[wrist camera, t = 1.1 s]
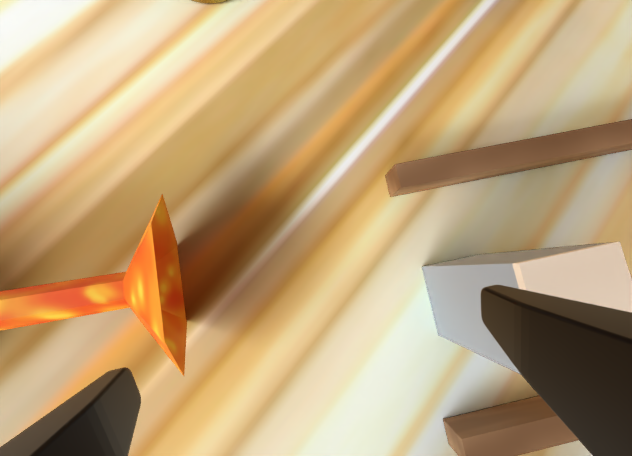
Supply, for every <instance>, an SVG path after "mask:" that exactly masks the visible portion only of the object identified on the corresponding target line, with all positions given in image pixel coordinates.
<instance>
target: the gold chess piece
mask: <svg viewBox="0 0 632 456" xmlns="http://www.w3.org/2000/svg"><path fill="white" fill-rule="evenodd" d="M192 1H196V2H200V3H218V2H223V1H226V0H192Z"/></svg>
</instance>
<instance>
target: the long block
mask: <svg viewBox="0 0 632 456" xmlns="http://www.w3.org/2000/svg"><path fill="white" fill-rule="evenodd" d="M422 270H423V274H424V278H425V282H426V286H427V290H428V294H429V298H430V303H431V307H432V311H433V315H434V319H435V323H436V327H437V331H438V335H439V336H441V337H444V338H446V339H448V340H450V341H452V342H454V343H456V344H458V345H460V346H462V347H465V348H467V349H469V350H471V351H473V352H475V353H477V354H479V355H481V356H483V357H485V358H488V359H490V360H492V361H494V362H496V363H498V364H500V365H502V366H504V367H506V368H509V369H511V370H513V371H515V372H517V373H519V374H520V372H519V371H518V370H517V369H516V367H515V366H514V365H513V363H512V362H511V361H510V359H509V358H508V356H507V355H506V354H505V352H504V351H503V350H502V348H501V347H500V345H499V344H498V343H497V341H496V340H495V339H494V337H493V336H492V335H491V333H490V332H489V330H488V329H487V328H486V326H485V325H484V323H483V321H482V317H481V295H480V294H481V290H482V289H483V288H484V287H487V286H492V285H503V286H508V287H513V288H518V289H522V290H527V291H532V292H537V293H541V294H546V295H551V296H556V297H560V298H565V299H570V300H575V301H579V302H584V303H589V304H594V305H598V306H603V307H608V308H613V309H617V310H622V311H627V312H632V278H631V275H630V272H629V269H628V266H627V262H626V259H625V256H624V253H623V250H622V247H621V244H620V242H610V243H599V244H588V245H577V246H566V247H555V248H545V249H534V250H523V251H512V252H501V253H490V254H479V255H474V256H469V257H465V258H460V259H455V260H451V261H446V262H441V263H436V264H432V265H427V266H422Z"/></svg>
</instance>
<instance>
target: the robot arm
mask: <svg viewBox="0 0 632 456" xmlns="http://www.w3.org/2000/svg"><path fill="white" fill-rule="evenodd" d="M480 295H481V317H482V321H483V323H484V325H485V326H486V328H487V329H488V330H489V332H490V333H491V335H492V336H493V337H494V339H495V340H496V341H497V343H498V344H499V345H500V347H501V348H502V350H503V351H504V352H505V354H506V355H507V356H508V358H509V359H510V361H511V362H512V363H513V365H514V366H515V367H516V369H517V370H518V371H519V372H520V374H521V375H522V376H523V377H524V378H525V380H526V381H527V382H528V383H529V384H530V385H531V387H532V388H533V389H534V390H535V391H536V392H537V393H538V394H539V396H540V397H541V398H542V399H543V400H544V401H545V402H546V403H547V405H548V406H549V407H550V408H551V409H552V410H553V411H554V412H555V414H556V415H557V416H558V417H559V418H560V419H561V420H562V421H563V423H564V424H565V425H566V426H567V427H568V428H569V429H570V430H571V432H572V433H573V434H574V435H575V436H576V437H577V438H578V439H579V441H580V442H581V443H582V444H583V445H584V446H585V447H586V448H587V450H588V451H589V452H590V453H591V454H592V455H593V456H632V312H627V311H622V310H617V309H613V308H608V307H603V306H598V305H594V304H589V303H584V302H579V301H575V300H570V299H565V298H560V297H556V296H551V295H546V294H541V293H537V292H532V291H527V290H522V289H518V288H513V287H508V286H503V285H492V286H487V287H484V288H483V289H482V290H481V294H480ZM140 405H141V397H140V393H139V390H138V388H137V385H136V383H135V380H134V377H133V375H132V372H131V371H130V369H128V368H120V369H115V370H111V371H108V372H107V373H105V374H104V375H102V376H101V377H100V378H98V379H97V380H95V381H94V382H93V383H91V384H90V385H88V386H87V387H85V388H84V389H83V390H81V391H80V392H78V393H77V394H75V395H74V396H73V397H71V398H70V399H68V400H67V401H65V402H64V403H63V404H61V405H60V406H58V407H57V408H56V409H54V410H53V411H51V412H50V413H48V414H47V415H46V416H44V417H43V418H41V419H40V420H38V421H37V422H36V423H34V424H33V425H31V426H30V427H28V428H27V429H26V430H24V431H23V432H21V433H20V434H19V435H17V436H16V437H14V438H13V439H11V440H10V441H9V442H7V443H6V444H4V445H3V446H1V447H0V456H128V453H129V449H130V445H131V441H132V437H133V433H134V429H135V425H136V421H137V417H138V413H139V409H140Z"/></svg>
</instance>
